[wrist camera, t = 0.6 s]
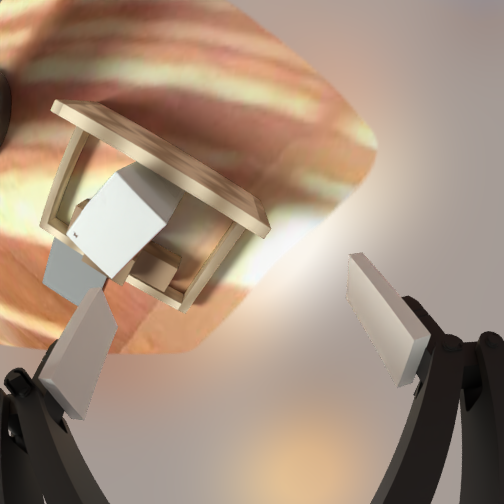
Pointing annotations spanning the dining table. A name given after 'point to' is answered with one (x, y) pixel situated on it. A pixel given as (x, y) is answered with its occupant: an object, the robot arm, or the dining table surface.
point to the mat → (70, 273)
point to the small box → (124, 216)
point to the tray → (166, 165)
